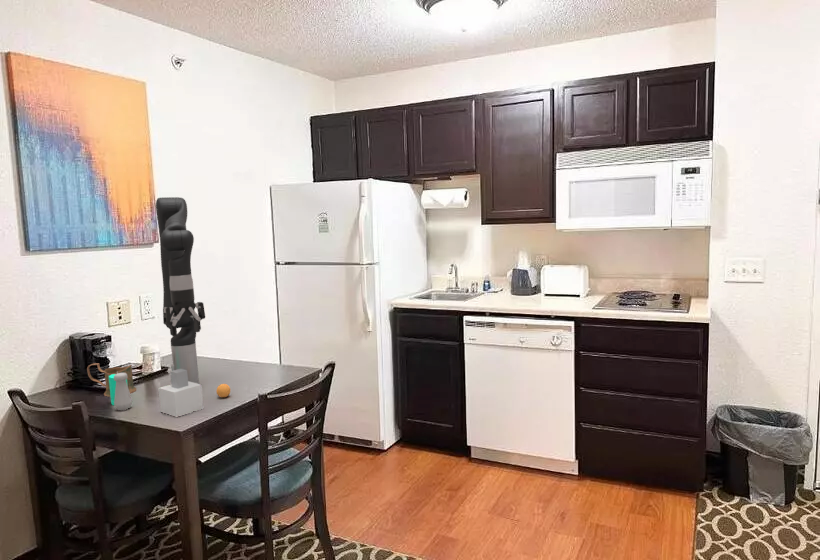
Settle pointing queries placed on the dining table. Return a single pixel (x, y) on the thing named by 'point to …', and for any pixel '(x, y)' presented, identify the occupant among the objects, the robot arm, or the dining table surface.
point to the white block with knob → (180, 395)
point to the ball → (223, 390)
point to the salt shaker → (122, 392)
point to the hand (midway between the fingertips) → (186, 334)
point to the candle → (112, 387)
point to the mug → (114, 371)
